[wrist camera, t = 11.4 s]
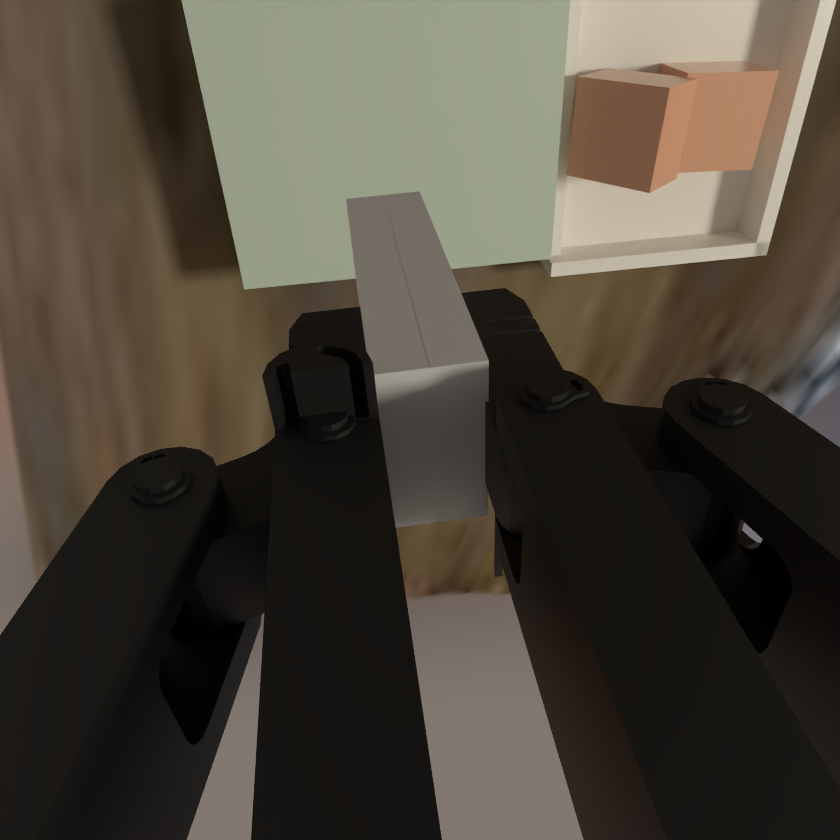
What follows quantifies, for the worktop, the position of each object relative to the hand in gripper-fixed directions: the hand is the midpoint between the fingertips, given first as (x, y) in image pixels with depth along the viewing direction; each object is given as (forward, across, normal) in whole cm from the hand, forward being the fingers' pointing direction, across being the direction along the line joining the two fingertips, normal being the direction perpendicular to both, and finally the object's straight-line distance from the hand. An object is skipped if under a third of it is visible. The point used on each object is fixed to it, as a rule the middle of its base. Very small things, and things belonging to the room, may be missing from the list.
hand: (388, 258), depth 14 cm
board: (+22, +2, -3) cm, 23 cm away
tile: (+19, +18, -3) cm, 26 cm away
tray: (+22, +16, -3) cm, 28 cm away
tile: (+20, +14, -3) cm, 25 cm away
